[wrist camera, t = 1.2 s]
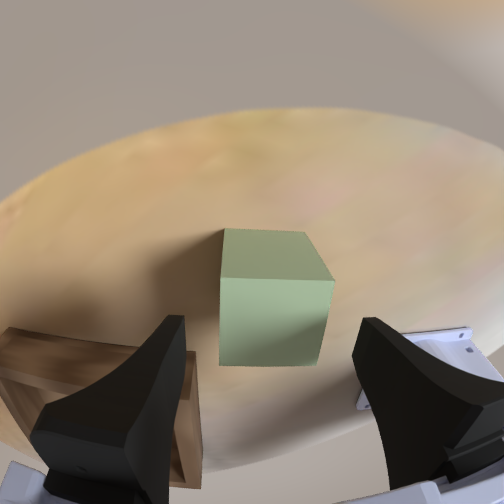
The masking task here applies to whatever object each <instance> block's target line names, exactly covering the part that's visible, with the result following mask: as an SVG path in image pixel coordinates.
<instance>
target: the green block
mask: <svg viewBox="0 0 504 504" xmlns="http://www.w3.org/2000/svg"><path fill="white" fill-rule="evenodd" d="M334 284H335V280H334V278H333V276H332V275H331V273H330V271H329V270H328V268H327V267H326V265H325V263H324V262H323V260H322V258H321V257H320V255H319V254H318V252H317V250H316V249H315V247H314V246H313V244H312V242H311V241H310V239H309V238H308V236H307V234H306V233H305V232H294V231H274V230H252V229H229V228H225V231H224V242H223V253H222V265H221V277H220V331H219V366H260V367H273V366H316V365H317V361H318V357H319V353H320V349H321V344H322V340H323V336H324V331H325V327H326V323H327V318H328V313H329V309H330V304H331V299H332V294H333V289H334Z"/></svg>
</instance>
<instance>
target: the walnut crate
mask: <svg viewBox="0 0 504 504" xmlns="http://www.w3.org/2000/svg"><path fill="white" fill-rule="evenodd" d="M138 348H139V347H131V346H122V345H113V344H105V343H98V342H90V341H83V340H76V339H70V338H64V337H58V336H52V335H46V334H41V333H35V332H30V331H25V330H20V329H15V328H11V327H9V328H8V329H7V330H6V331H5V332H4V334H3V335H2V336H1V337H0V396H1V398H2V399H3V401H4V403H5V404H6V406H7V408H8V409H9V411H10V413H11V414H12V416H13V418H14V419H15V421H16V422H17V424H18V425H19V427H20V428H21V430H22V431H23V433H24V434H25V436H26V437H27V439H28V440H29V442H30V437H29V436H30V433H31V431H32V429H33V427H34V425H35V423H36V420H37V418H38V416H39V414H40V412H41V411H42V409H43V407H44V406H45V404H47V403H50V402H53V401H56V400H58V399H61V398H64V397H66V396H69V395H71V394H73V393H75V392H78V391H80V390H82V389H84V388H86V387H88V386H89V385H91V384H93V383H95V382H96V381H98V380H99V379H101V378H103V377H104V376H106V375H107V374H109V373H110V372H112V371H113V370H114V369H116V368H117V367H118V366H120V365H121V364H122V363H123V362H124V361H126V360H127V359H128V358H129V357H130V356H131V355H132V354H133V353H134V352H135V351H136V350H137V349H138ZM186 353H187V358H186V368H185V377H184V382H183V386H182V391H181V395H180V399H179V404H178V408H177V413H176V417H175V422H174V428H173V436H172V447H171V460H170V478H169V486H170V487H180V488H191V489H201V478H202V459H203V445H202V435H201V423H200V411H199V397H198V382H197V365H196V352H193V351H186ZM30 443H31V442H30Z"/></svg>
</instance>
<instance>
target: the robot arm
mask: <svg viewBox="0 0 504 504" xmlns="http://www.w3.org/2000/svg"><path fill="white" fill-rule="evenodd" d="M472 334H473V330H472V328H471V327H468V328H460V329H452V330H443V331H433V332H423V333H412V334H400V333H398V332H397V331H396V330H394V329H393V328H391V327H390V326H389V325H387V324H386V323H384V322H383V321H381V320H380V319H378V318H376V317H367V318H363V319H362V323H361V326H360V330H359V333H358V337H357V340H356V343H355V347H354V350H353V353H352V358H353V362H354V366H355V370H356V373H357V376H358V379H359V381H360V383H361V386H362V388H363V389H362V392H361V394H360V396H359V399H358V401H357V404H356V408H357V410H367V409H372V411H373V414H374V416H375V419H376V422H377V425H378V428H379V432H380V436H381V440H382V444H383V448H384V453H385V457H386V463H387V469H388V476H389V485H390V491H387V492H383V493H379V494H375V495H371V496H366V497H362V498H357V499H352V500H347V501H342V502H338V503H334V504H504V379H503V378H502V376H501V375H500V374H499V373H498V371H497V370H496V369H495V368H494V367H493V365H492V364H491V363H490V362H489V361H488V359H487V358H486V357H485V356H484V355H483V354H482V352H481V351H480V350H479V349H478V348H477V347H476V346H475V344H474V343H473V342H472V341H471V340H470V339H471V336H472ZM186 358H187V353H186V338H185V322H184V316H181V315H168V316H167V317H166V318H165V319H164V320H163V322H162V323H161V324H160V325H159V326H158V328H157V329H156V330H155V331H154V332H153V333H152V335H151V336H150V337H149V338H148V339H147V340H146V341H145V342H144V343H143V344H142V345H141V346H140V347H139V348H138V349H137V350H136V351H135V352H134V353H133V354H132V355H131V356H130V357H129V358H128V359H127V360H126V361H124V362H123V363H122V364H121V365H120V366H118V367H117V368H116V369H114V370H113V371H112V372H110V373H109V374H107V375H106V376H104V377H103V378H101V379H99V380H98V381H96V382H95V383H93V384H91V385H89V386H88V387H86V388H84V389H82V390H80V391H78V392H75V393H73V394H71V395H69V396H66V397H64V398H61V399H58V400H56V401H53V402H50V403H47V404H45V406H44V407H43V409H42V411H41V412H40V414H39V416H38V418H37V420H36V423H35V425H34V427H33V429H32V431H31V433H30V436H29V437H30V442H31V444H32V446H33V447H34V449H35V450H36V452H37V453H38V454H39V456H40V457H41V458H42V460H43V461H44V462H45V464H46V465H47V466H48V467H49V471H48V474H47V476H46V475H45V474H43V473H42V472H40V471H38V470H36V469H33V468H30V467H28V466H25V465H22V464H20V463H18V462H15V461H11V463H10V465H9V467H8V469H7V472H6V474H5V477H4V479H3V482H2V485H1V487H0V504H169V478H170V460H171V447H172V436H173V428H174V422H175V417H176V413H177V408H178V404H179V399H180V395H181V391H182V386H183V382H184V377H185V368H186Z"/></svg>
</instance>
